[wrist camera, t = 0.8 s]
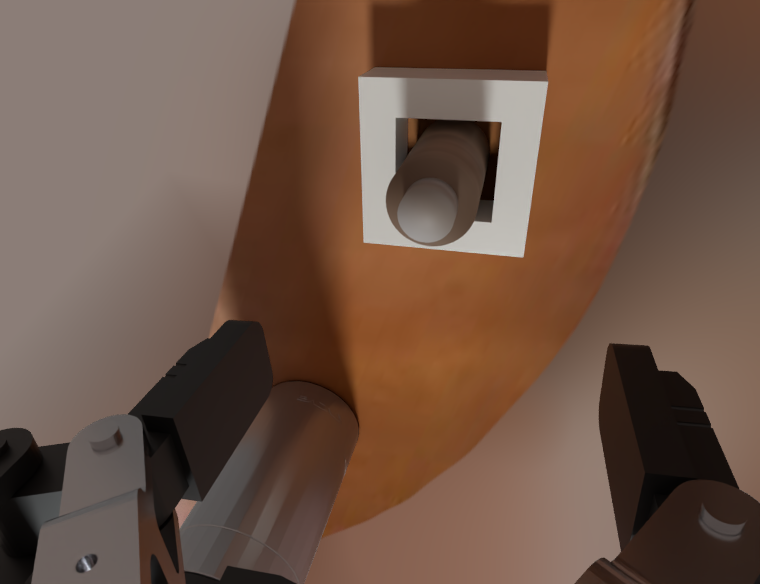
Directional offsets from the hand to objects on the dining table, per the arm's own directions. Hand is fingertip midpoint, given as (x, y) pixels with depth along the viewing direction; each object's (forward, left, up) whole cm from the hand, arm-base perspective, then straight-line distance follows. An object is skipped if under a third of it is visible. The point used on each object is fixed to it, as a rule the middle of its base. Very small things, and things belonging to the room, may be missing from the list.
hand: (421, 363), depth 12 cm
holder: (-2, +1, -22) cm, 22 cm away
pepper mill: (-2, +1, -22) cm, 22 cm away
